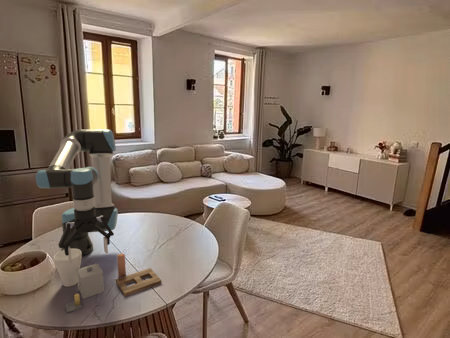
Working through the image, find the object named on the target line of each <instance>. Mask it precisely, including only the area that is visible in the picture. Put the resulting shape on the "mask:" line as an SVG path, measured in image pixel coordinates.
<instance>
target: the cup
mask: <svg viewBox="0 0 450 338" xmlns="http://www.w3.org/2000/svg"><path fill="white" fill-rule="evenodd" d="M82 257H83V256H82V252H81V250H79V249H71V258H72V263H69V259H68V255H67V256H66V255H65V251H64V250H63V251H61V250H59V251H58V252H56V253H55V254H54V256H53V261H54V264H55V267H56V270H57V273H58V274H59V276H60V279H61V282H62V283H61V284H62V286H64V287H66V288H67V287H68V288H69V287H73V286H75V285H77V284H78V273H77V269H79V268H81V265H82Z"/></svg>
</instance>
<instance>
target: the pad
mask: <svg viewBox="0 0 450 338" xmlns="http://www.w3.org/2000/svg"><path fill="white" fill-rule="evenodd" d="M80 295H81V294H80V293H75V294H74V295H73V296H74V298H73V299H74V301H72V302H69V303H68V302H67V303H66V304H64V307H65V312H66V313H67V314H70V313H72V312H76V311H78V310H80V309H82V308H83V307H82V306H83V305H82V304H81V299H80V298H81V297H80Z"/></svg>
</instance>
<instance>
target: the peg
mask: <svg viewBox="0 0 450 338" xmlns="http://www.w3.org/2000/svg"><path fill="white" fill-rule="evenodd" d="M116 256H117V259H116V260H117V272H118V273H117V275H118V277H119V278H121V277H124V276H127V274H126V273H127V272H126V255H125V253H118V254H117V255H116Z"/></svg>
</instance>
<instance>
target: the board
mask: <svg viewBox="0 0 450 338" xmlns="http://www.w3.org/2000/svg"><path fill="white" fill-rule="evenodd" d="M147 277H148V279H146V280H143V279H144V278H147ZM133 282H134V284H132V285H131V283H133ZM115 283H116V285H117V287H118V288H119V289H120V292H122V295H123V296H124V297H128V296H130V295H133V294H136V293H139V292H141V291H144V290H147V289H149V288H153V287H155V286H158V285H161V284H162V279H161V278H160V277H159V276H158V275H157V273H156V272H154V271H153V269H152V268H151V267H150V268H146V269H143V270H140V271H138V272H135V273H131V274H127V275H126V276H124V277H119V278H116V279H115ZM126 284H130V285H129V286H127V285H126Z"/></svg>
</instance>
